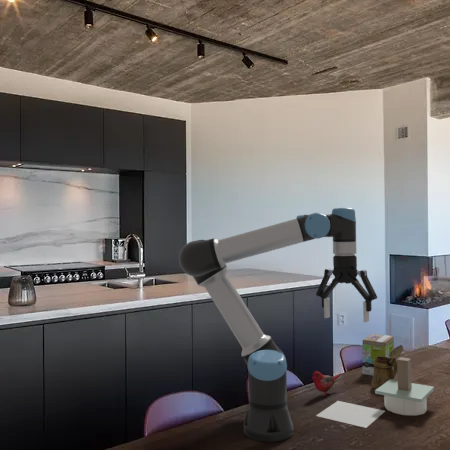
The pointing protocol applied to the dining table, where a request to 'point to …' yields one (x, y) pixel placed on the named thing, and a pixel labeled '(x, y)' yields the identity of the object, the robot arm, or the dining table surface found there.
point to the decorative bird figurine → (323, 381)
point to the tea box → (375, 350)
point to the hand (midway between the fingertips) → (346, 319)
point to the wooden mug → (385, 368)
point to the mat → (351, 414)
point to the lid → (404, 384)
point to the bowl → (405, 406)
